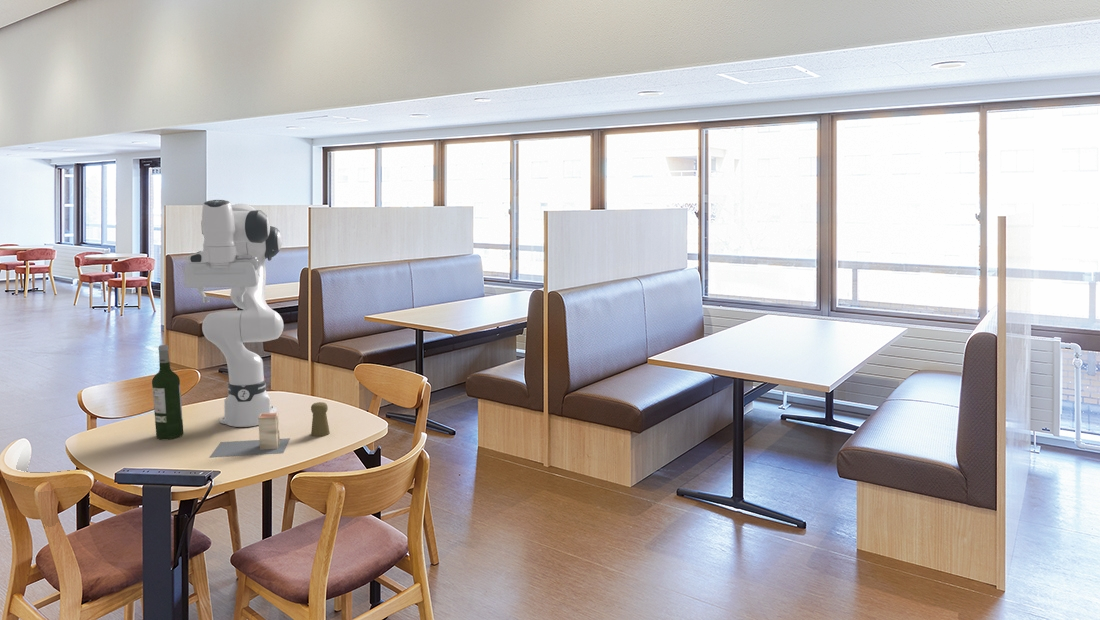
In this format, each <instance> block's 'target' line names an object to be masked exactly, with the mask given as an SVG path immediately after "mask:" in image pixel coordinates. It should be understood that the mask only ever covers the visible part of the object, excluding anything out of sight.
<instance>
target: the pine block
mask: <svg viewBox="0 0 1100 620" xmlns="http://www.w3.org/2000/svg"><path fill="white" fill-rule="evenodd" d="M258 423H259V425H258V436H259V437H258V440H260V450H262V449H277V448H278V446H279V444H280V439H281V438H280V423H279V412H277V413H261V415H260V416H259V418H258Z"/></svg>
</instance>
